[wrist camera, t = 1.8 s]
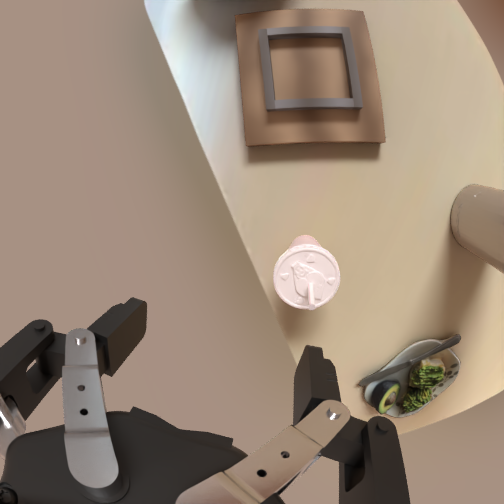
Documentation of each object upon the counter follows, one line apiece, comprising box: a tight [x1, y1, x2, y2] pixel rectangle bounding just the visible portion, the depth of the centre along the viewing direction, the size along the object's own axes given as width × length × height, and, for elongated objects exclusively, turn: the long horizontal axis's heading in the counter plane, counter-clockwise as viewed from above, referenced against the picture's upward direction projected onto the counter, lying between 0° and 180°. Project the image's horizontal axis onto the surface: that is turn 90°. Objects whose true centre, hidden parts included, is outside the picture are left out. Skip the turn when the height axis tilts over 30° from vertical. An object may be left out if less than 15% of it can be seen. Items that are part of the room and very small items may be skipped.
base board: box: [235, 9, 385, 147], centre depth 26 cm, size 16×18×4 cm
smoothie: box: [273, 235, 340, 310], centre depth 28 cm, size 6×6×14 cm
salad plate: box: [359, 334, 461, 418], centre depth 36 cm, size 19×18×5 cm
